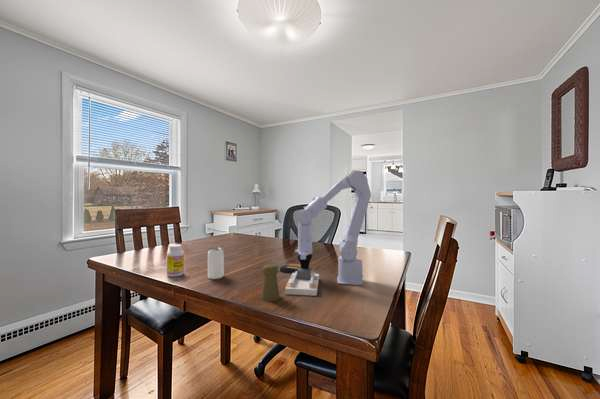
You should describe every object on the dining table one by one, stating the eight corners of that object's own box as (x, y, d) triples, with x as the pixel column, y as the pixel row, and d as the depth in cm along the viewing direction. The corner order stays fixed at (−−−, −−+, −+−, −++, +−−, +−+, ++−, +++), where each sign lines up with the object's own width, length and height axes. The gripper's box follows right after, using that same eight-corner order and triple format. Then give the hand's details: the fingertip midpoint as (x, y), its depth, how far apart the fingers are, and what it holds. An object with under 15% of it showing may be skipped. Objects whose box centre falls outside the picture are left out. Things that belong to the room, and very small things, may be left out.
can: (227, 276, 107) (227, 248, 107) (214, 280, 101) (214, 251, 101) (217, 273, 110) (216, 246, 110) (204, 277, 105) (204, 249, 105)
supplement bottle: (172, 278, 105) (172, 247, 104) (163, 275, 108) (163, 245, 108) (187, 273, 110) (187, 244, 110) (178, 271, 114) (178, 243, 114)
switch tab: (311, 276, 100) (311, 268, 100) (310, 279, 96) (310, 271, 96) (298, 275, 101) (298, 268, 100) (297, 278, 97) (297, 271, 97)
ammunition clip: (300, 274, 109) (311, 268, 120) (300, 270, 109) (311, 264, 120) (279, 271, 114) (292, 265, 124) (279, 267, 114) (292, 261, 124)
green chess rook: (271, 302, 80) (271, 268, 80) (257, 298, 83) (257, 265, 83) (283, 296, 85) (282, 264, 85) (269, 292, 88) (269, 261, 88)
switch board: (319, 278, 104) (319, 270, 103) (316, 295, 86) (316, 285, 86) (292, 277, 105) (292, 269, 105) (284, 294, 87) (284, 283, 87)
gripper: (297, 236, 109) (297, 267, 109) (292, 242, 95) (292, 278, 95) (313, 236, 108) (313, 268, 108) (311, 242, 94) (311, 279, 94)
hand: (305, 272), depth 101 cm, fingers closed
